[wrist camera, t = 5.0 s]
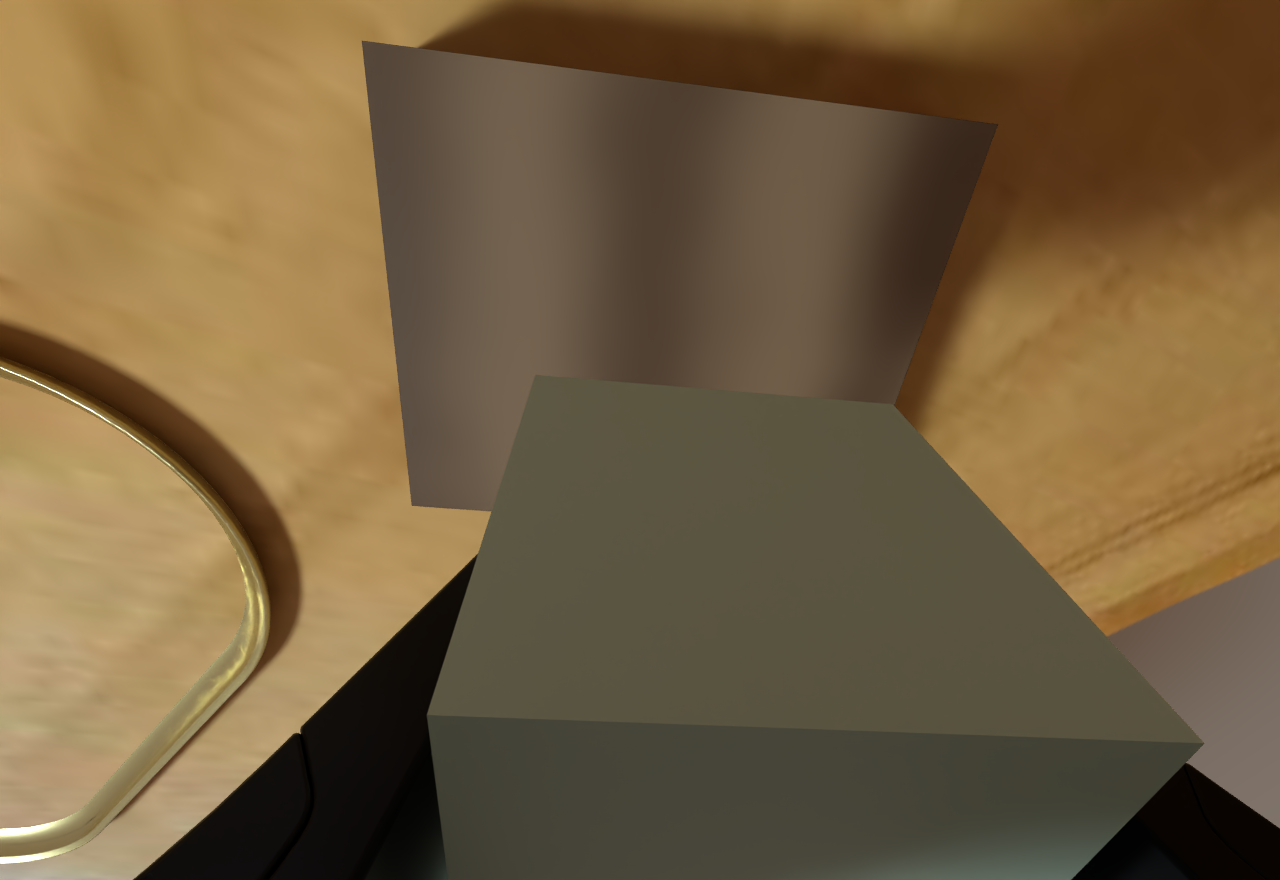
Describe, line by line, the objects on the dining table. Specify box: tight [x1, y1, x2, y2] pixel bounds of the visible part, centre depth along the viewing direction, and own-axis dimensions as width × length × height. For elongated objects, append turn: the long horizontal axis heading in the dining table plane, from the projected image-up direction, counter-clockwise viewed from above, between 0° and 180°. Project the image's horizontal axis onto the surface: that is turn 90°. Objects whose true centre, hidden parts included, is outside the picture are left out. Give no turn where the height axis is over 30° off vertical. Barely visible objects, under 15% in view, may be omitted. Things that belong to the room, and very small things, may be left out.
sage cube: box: [427, 375, 1204, 880], centre depth 7 cm, size 5×5×5 cm
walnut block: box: [362, 41, 998, 511], centre depth 17 cm, size 14×12×3 cm
